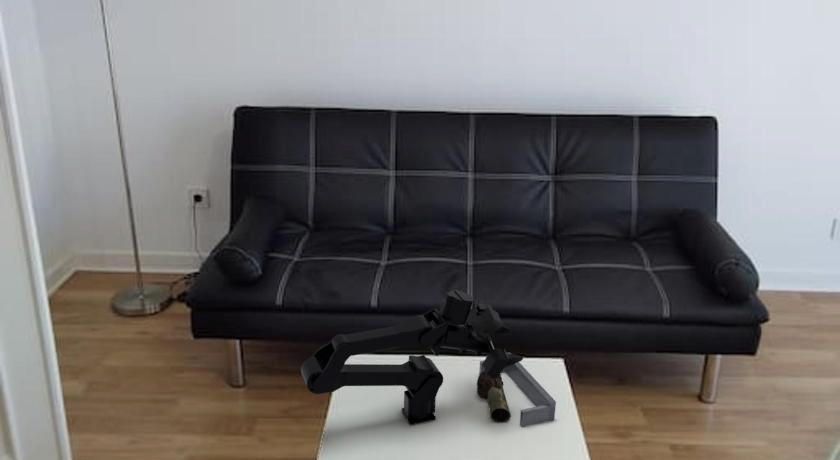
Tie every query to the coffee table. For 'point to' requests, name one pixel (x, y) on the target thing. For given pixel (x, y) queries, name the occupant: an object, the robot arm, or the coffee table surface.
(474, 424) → the coffee table surface
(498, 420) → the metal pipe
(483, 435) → the coffee table surface
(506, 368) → the grey u-shaped bracket
